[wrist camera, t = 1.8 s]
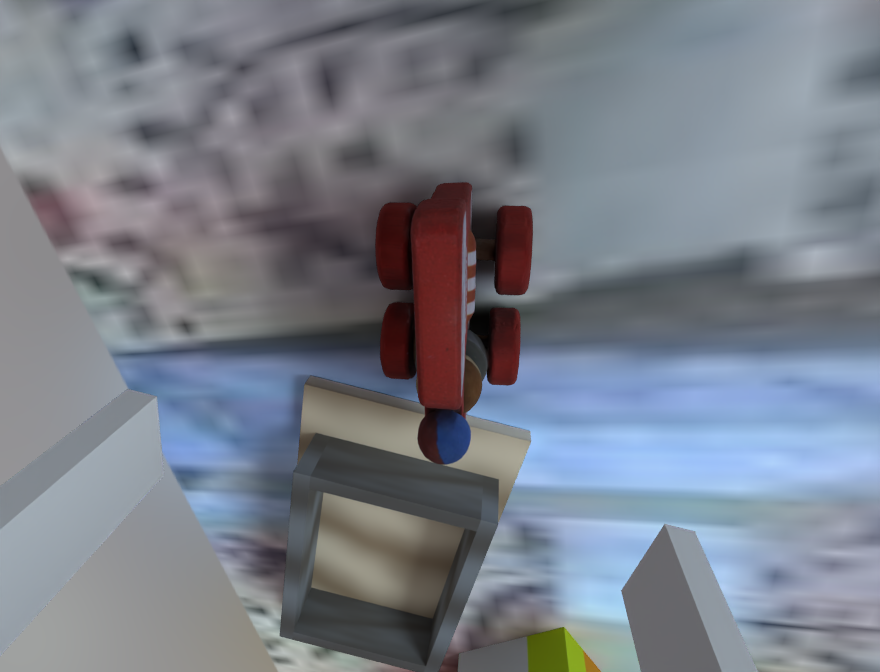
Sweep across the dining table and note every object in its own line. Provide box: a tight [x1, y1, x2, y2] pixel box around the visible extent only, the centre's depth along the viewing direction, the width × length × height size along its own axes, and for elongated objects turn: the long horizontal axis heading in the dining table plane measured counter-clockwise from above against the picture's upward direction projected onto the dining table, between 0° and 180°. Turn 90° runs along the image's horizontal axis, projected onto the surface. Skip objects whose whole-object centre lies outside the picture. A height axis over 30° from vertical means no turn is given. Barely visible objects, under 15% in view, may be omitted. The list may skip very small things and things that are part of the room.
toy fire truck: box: [375, 182, 533, 465], centre depth 20 cm, size 7×12×10 cm, turn 179°
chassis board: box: [280, 376, 531, 672], centre depth 32 cm, size 24×14×4 cm, turn 168°
